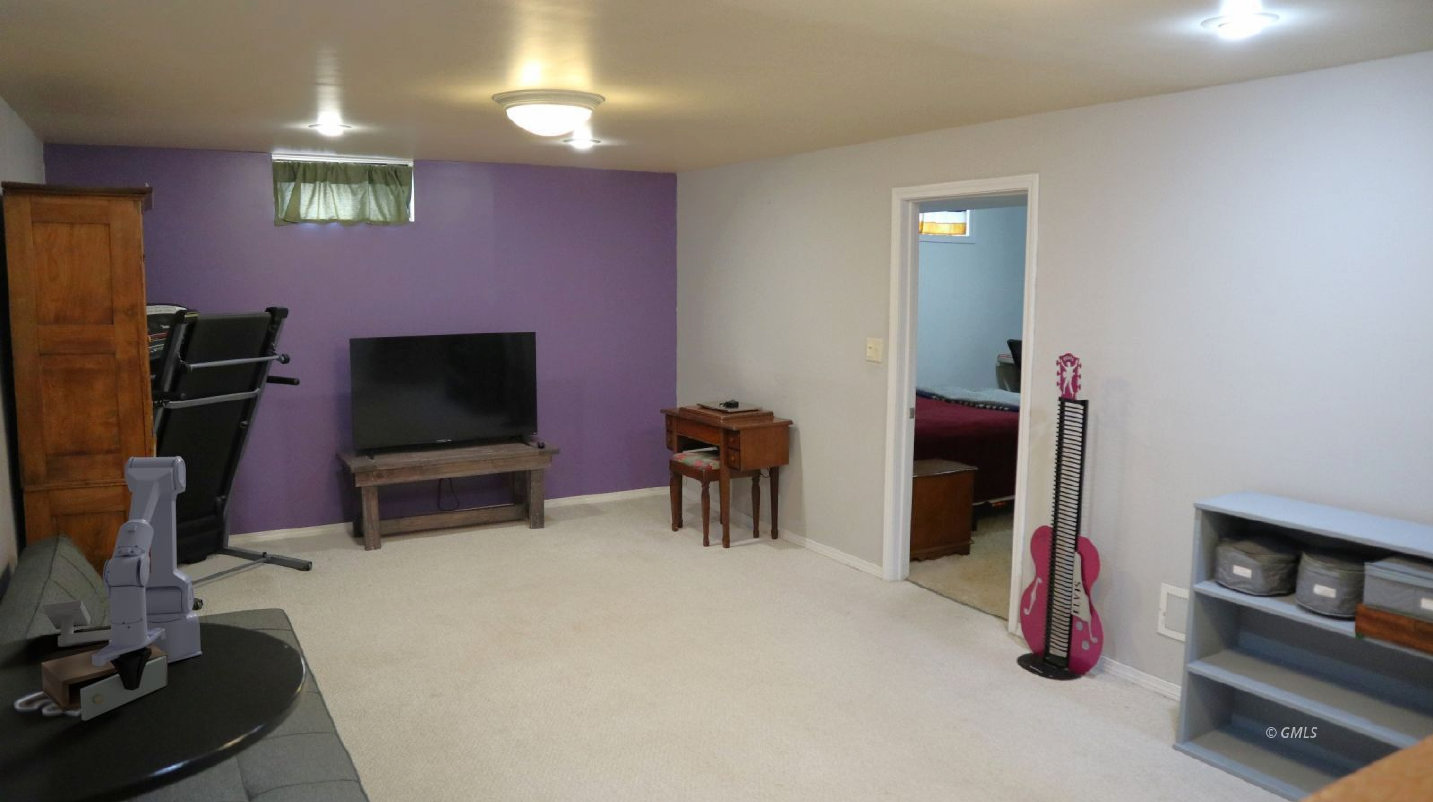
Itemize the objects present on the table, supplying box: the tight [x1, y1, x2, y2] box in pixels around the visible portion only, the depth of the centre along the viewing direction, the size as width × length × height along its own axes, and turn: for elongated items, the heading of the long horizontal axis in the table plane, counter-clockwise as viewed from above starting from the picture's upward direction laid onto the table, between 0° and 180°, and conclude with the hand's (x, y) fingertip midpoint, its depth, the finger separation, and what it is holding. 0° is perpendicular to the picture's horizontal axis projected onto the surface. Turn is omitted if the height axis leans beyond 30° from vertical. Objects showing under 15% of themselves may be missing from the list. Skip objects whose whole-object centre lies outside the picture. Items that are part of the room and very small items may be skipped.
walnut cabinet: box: [41, 643, 169, 713], centre depth 188 cm, size 18×12×6 cm, turn 140°
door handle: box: [42, 599, 111, 648], centre depth 213 cm, size 18×8×20 cm
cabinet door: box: [80, 656, 168, 722], centre depth 182 cm, size 17×2×6 cm, turn 160°
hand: (131, 688), depth 181 cm, fingers closed
